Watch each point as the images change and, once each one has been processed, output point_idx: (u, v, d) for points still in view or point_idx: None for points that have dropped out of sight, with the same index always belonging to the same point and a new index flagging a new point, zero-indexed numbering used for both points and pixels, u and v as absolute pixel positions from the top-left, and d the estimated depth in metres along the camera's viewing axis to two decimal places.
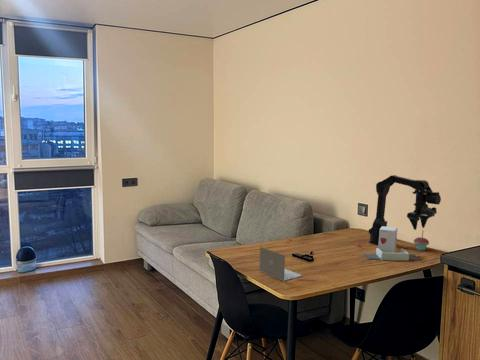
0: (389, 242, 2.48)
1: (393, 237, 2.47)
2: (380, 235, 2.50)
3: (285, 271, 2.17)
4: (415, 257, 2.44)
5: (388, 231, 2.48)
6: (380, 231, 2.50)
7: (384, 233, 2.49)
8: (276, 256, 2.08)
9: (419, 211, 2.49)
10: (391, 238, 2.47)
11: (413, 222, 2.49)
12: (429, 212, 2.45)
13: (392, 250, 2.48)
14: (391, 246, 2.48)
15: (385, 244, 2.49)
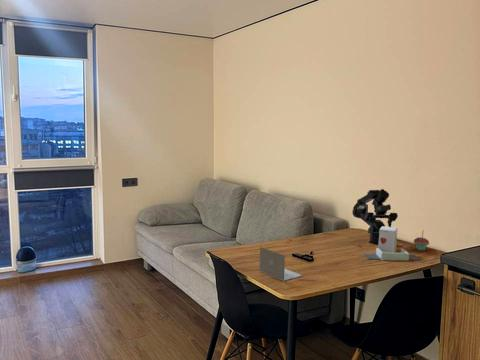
0: (389, 242, 2.48)
1: (393, 237, 2.47)
2: (380, 235, 2.50)
3: (285, 271, 2.17)
4: (415, 257, 2.44)
5: (388, 231, 2.48)
6: (380, 231, 2.50)
7: (384, 233, 2.49)
8: (276, 256, 2.08)
9: (376, 212, 2.67)
10: (391, 238, 2.47)
11: (373, 222, 2.65)
12: (379, 207, 2.63)
13: (392, 250, 2.48)
14: (391, 246, 2.48)
15: (385, 244, 2.49)
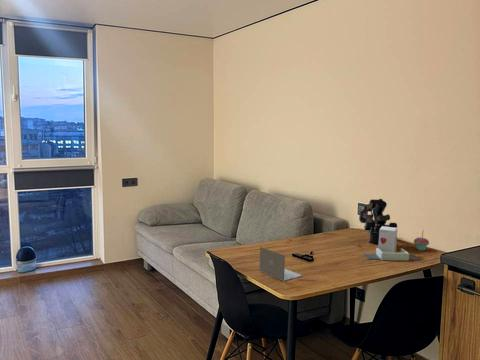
0: (389, 242, 2.48)
1: (393, 237, 2.47)
2: (380, 235, 2.50)
3: (285, 271, 2.17)
4: (415, 257, 2.44)
5: (388, 231, 2.48)
6: (380, 231, 2.50)
7: (384, 233, 2.49)
8: (276, 256, 2.08)
9: (376, 222, 2.67)
10: (391, 238, 2.47)
11: None
12: (378, 217, 2.63)
13: (392, 250, 2.48)
14: (391, 246, 2.48)
15: (385, 244, 2.49)
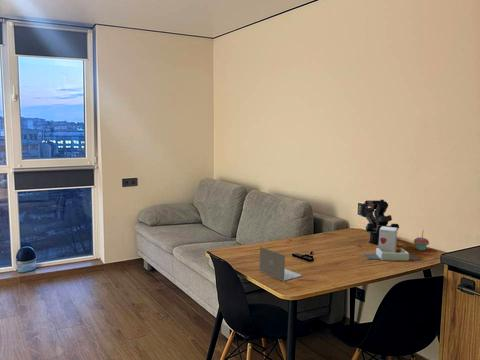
0: (390, 242, 2.48)
1: (393, 237, 2.47)
2: (380, 235, 2.50)
3: (285, 271, 2.17)
4: (415, 257, 2.44)
5: (388, 231, 2.48)
6: (380, 231, 2.50)
7: (384, 233, 2.49)
8: (276, 256, 2.08)
9: (377, 223, 2.64)
10: (391, 238, 2.47)
11: None
12: (380, 218, 2.60)
13: (392, 250, 2.48)
14: (391, 246, 2.48)
15: (385, 244, 2.49)
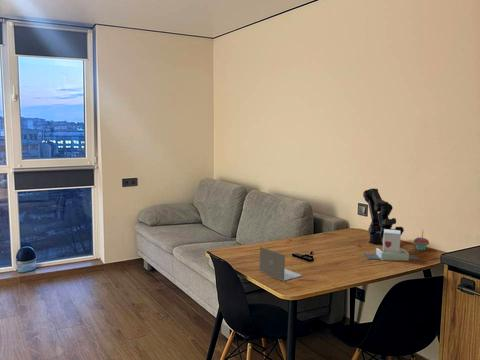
0: (395, 246, 2.41)
1: (398, 240, 2.40)
2: (385, 239, 2.42)
3: (285, 271, 2.17)
4: (415, 257, 2.44)
5: (393, 234, 2.40)
6: (385, 234, 2.42)
7: (389, 237, 2.41)
8: (276, 256, 2.08)
9: (381, 226, 2.56)
10: (396, 241, 2.40)
11: None
12: (384, 221, 2.52)
13: None
14: (396, 250, 2.40)
15: (390, 247, 2.41)
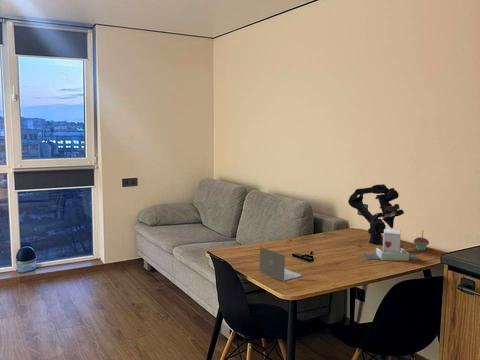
0: (395, 246, 2.41)
1: (398, 240, 2.40)
2: (385, 239, 2.42)
3: (285, 271, 2.17)
4: (415, 257, 2.44)
5: (393, 234, 2.40)
6: (385, 234, 2.42)
7: (389, 237, 2.41)
8: (276, 256, 2.08)
9: (384, 211, 2.65)
10: (396, 241, 2.40)
11: (387, 221, 2.65)
12: (389, 208, 2.60)
13: None
14: (396, 250, 2.40)
15: (390, 247, 2.41)
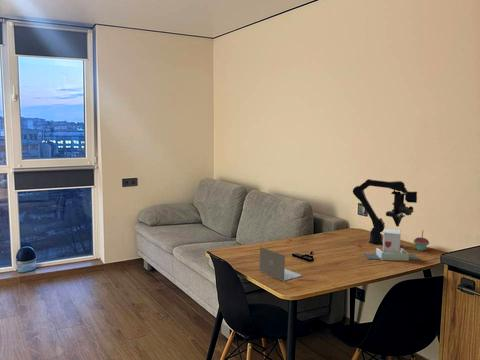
0: (395, 246, 2.41)
1: (398, 240, 2.40)
2: (385, 239, 2.42)
3: (285, 271, 2.17)
4: (415, 257, 2.44)
5: (393, 234, 2.40)
6: (385, 234, 2.42)
7: (389, 237, 2.41)
8: (276, 256, 2.08)
9: (397, 210, 2.67)
10: (396, 241, 2.40)
11: (395, 219, 2.69)
12: (406, 211, 2.62)
13: None
14: (396, 250, 2.40)
15: (390, 247, 2.41)
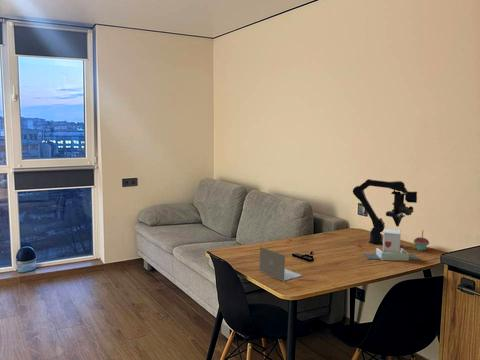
0: (395, 246, 2.41)
1: (398, 240, 2.40)
2: (385, 239, 2.42)
3: (285, 271, 2.17)
4: (415, 257, 2.44)
5: (393, 234, 2.40)
6: (385, 234, 2.42)
7: (389, 237, 2.41)
8: (276, 256, 2.08)
9: (397, 210, 2.67)
10: (396, 241, 2.40)
11: (395, 219, 2.69)
12: (406, 211, 2.62)
13: None
14: (396, 250, 2.40)
15: (390, 247, 2.41)
